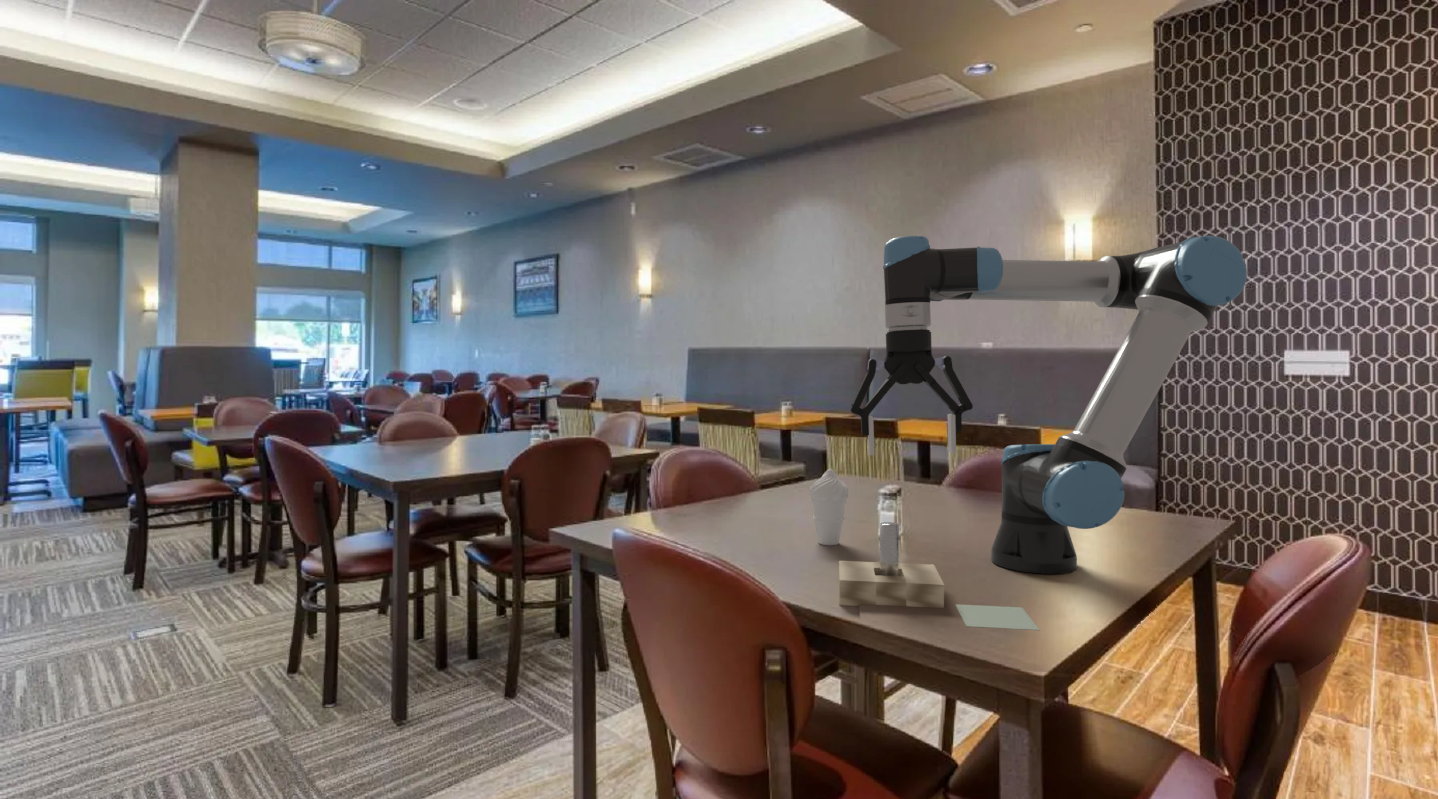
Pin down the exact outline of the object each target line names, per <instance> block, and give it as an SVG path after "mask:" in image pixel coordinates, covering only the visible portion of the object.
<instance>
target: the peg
mask: <svg viewBox="0 0 1438 799" xmlns="http://www.w3.org/2000/svg"><path fill="white" fill-rule="evenodd" d="M879 525H880V526H879V562H880V576H898V563H899V549H900V548H899V547H900V546H899V545H900V543H899V542H900V540H899V539H900V524H899V523H898V522H893V521H886V522H885V521H884V522H880V524H879Z"/></svg>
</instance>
